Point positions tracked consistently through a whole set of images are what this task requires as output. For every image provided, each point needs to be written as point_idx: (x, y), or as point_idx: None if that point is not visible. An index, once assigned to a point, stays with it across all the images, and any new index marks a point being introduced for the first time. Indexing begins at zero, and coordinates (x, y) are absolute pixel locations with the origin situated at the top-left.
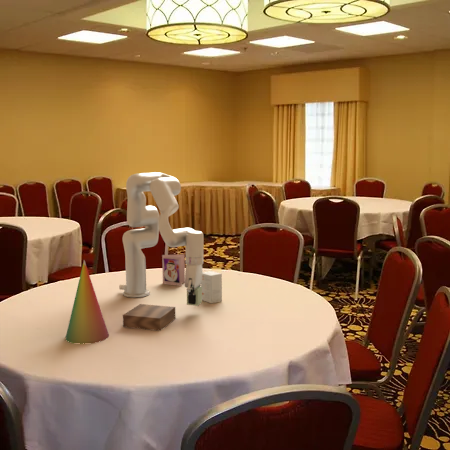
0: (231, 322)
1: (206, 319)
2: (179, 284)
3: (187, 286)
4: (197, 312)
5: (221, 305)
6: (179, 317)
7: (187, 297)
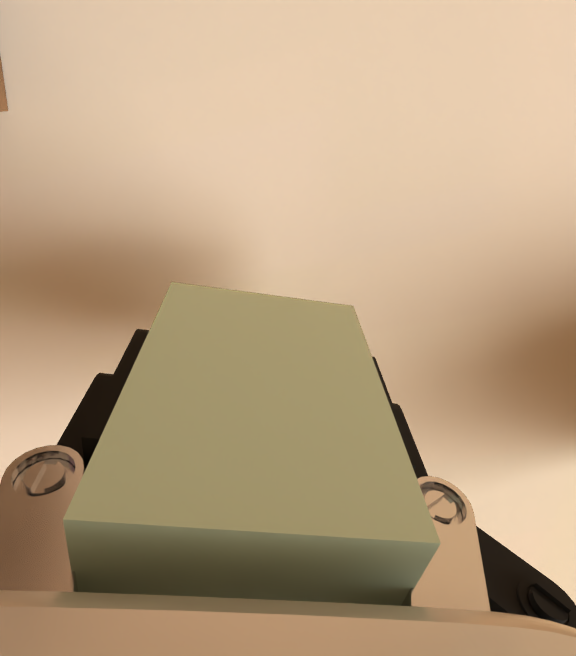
0: None
1: None
2: None
3: (91, 594)
4: None
5: (525, 459)
6: (79, 156)
7: (140, 361)
